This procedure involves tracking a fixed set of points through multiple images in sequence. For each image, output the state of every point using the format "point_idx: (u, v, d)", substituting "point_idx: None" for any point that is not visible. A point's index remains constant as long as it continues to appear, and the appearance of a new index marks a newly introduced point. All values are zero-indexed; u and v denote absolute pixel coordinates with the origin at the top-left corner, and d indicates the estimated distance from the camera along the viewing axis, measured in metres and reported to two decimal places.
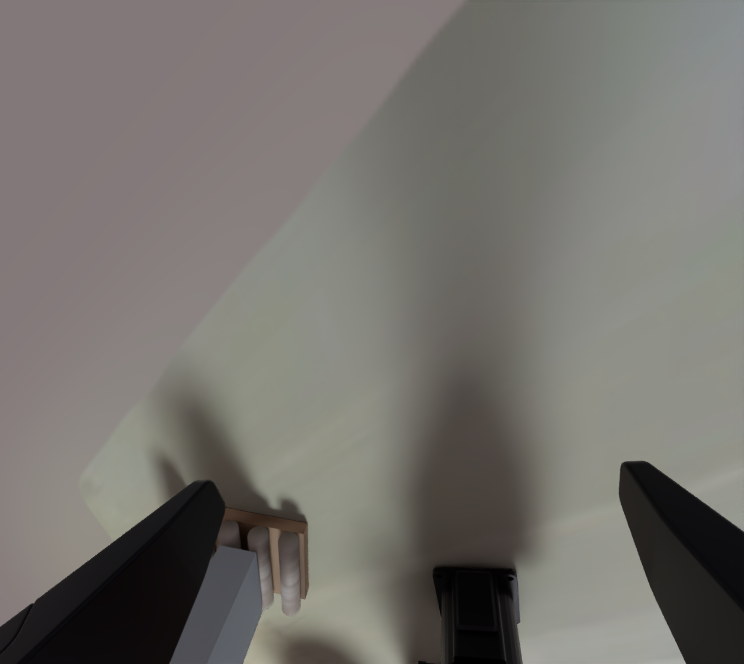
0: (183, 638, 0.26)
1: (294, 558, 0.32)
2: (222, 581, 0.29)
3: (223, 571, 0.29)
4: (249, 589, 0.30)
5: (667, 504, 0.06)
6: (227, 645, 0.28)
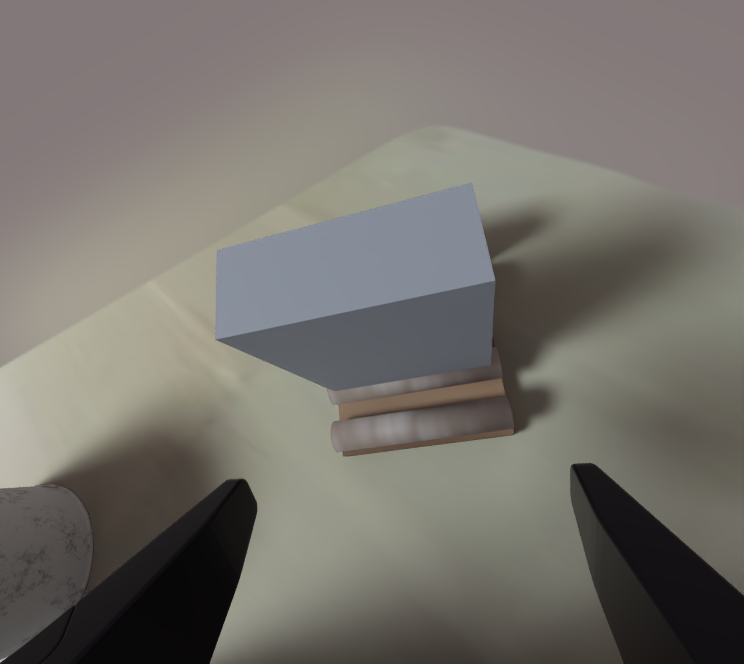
0: None
1: (485, 428, 0.19)
2: None
3: None
4: (444, 365, 0.18)
5: (605, 505, 0.06)
6: (422, 347, 0.15)
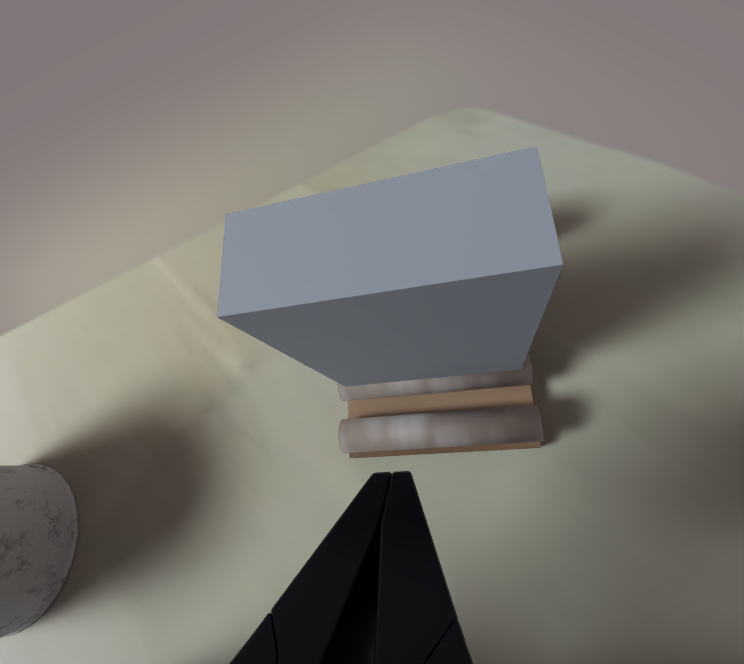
0: None
1: (511, 439, 0.17)
2: None
3: None
4: (471, 366, 0.16)
5: (393, 510, 0.07)
6: (453, 343, 0.13)
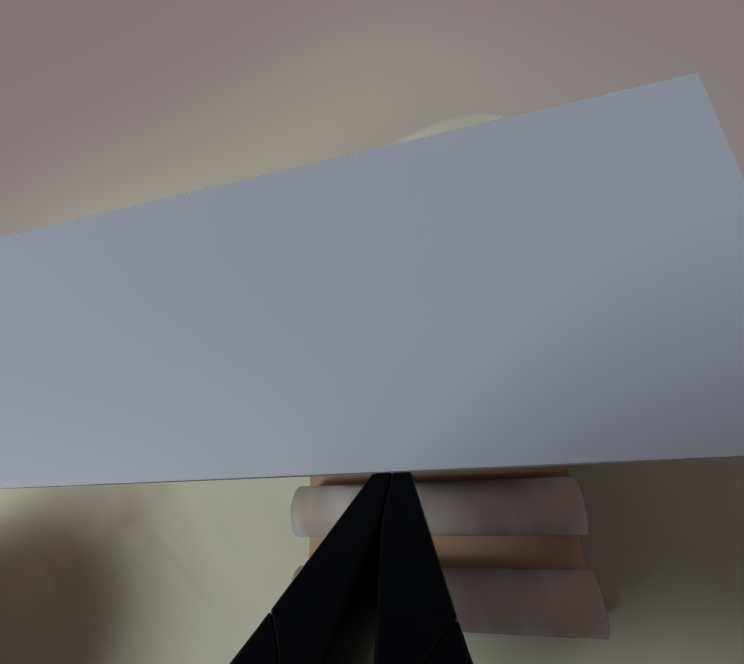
0: None
1: (555, 634, 0.11)
2: None
3: None
4: None
5: (393, 510, 0.07)
6: None
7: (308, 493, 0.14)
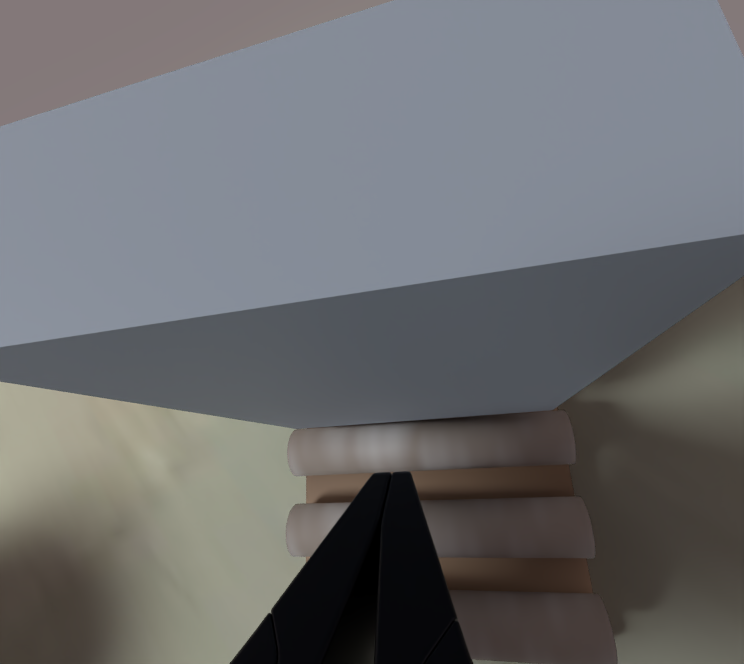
0: None
1: (561, 663, 0.10)
2: None
3: None
4: (478, 409, 0.11)
5: (393, 510, 0.07)
6: (449, 389, 0.07)
7: (303, 511, 0.13)
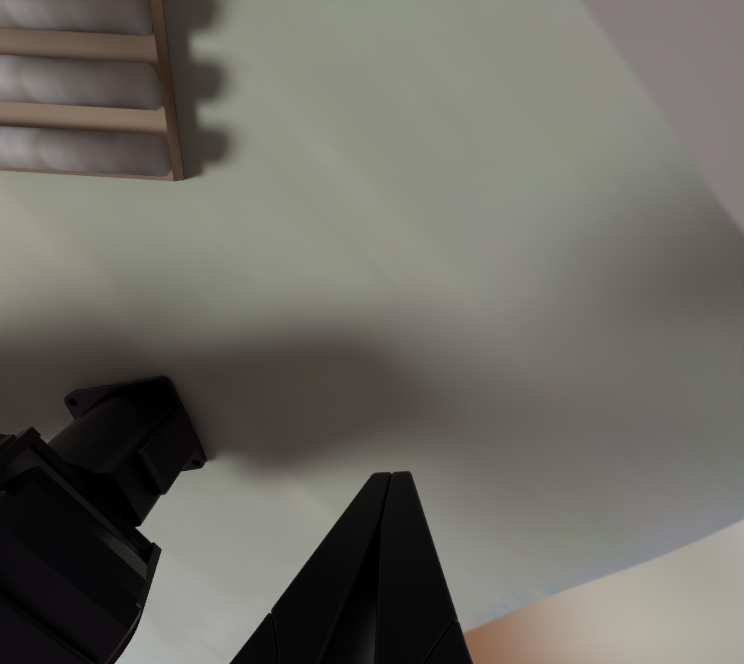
0: None
1: (126, 171, 0.17)
2: None
3: None
4: None
5: (393, 510, 0.07)
6: None
7: None
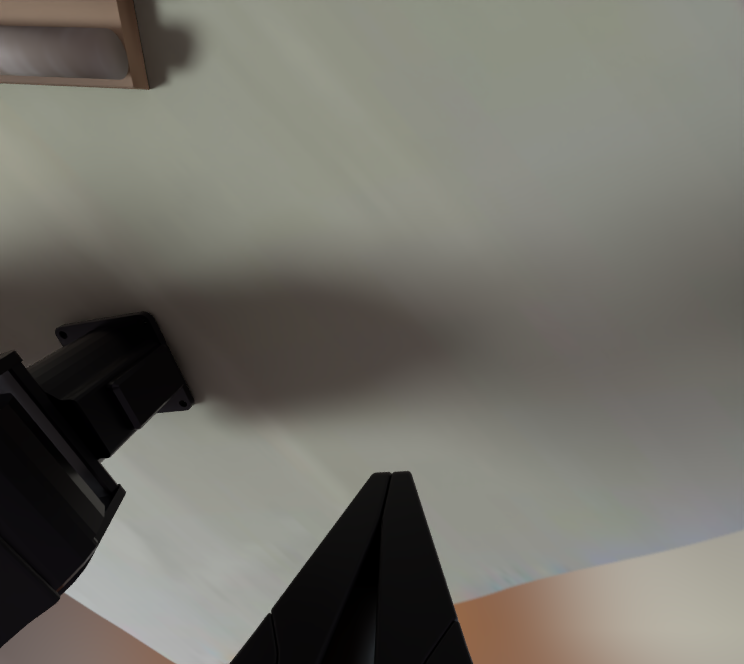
0: None
1: (76, 71, 0.15)
2: None
3: None
4: None
5: (393, 510, 0.07)
6: None
7: None
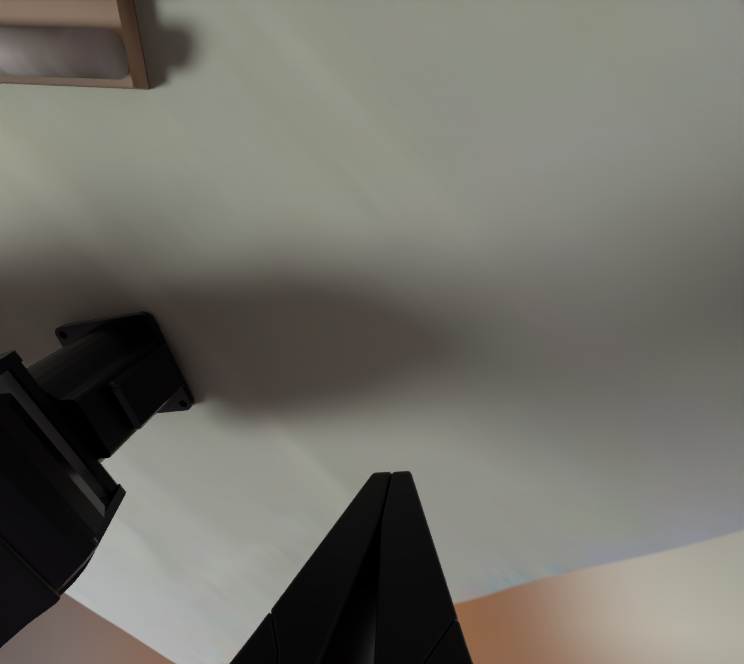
0: None
1: (76, 71, 0.15)
2: None
3: None
4: None
5: (393, 510, 0.07)
6: None
7: None
